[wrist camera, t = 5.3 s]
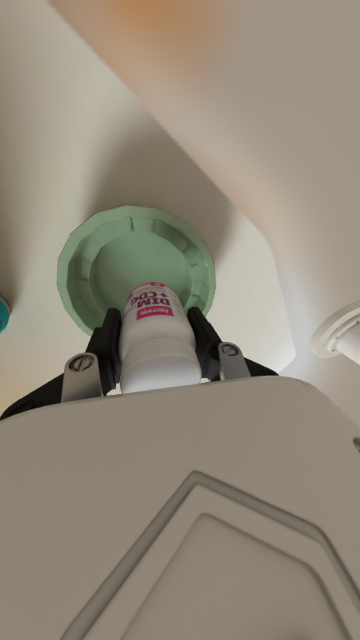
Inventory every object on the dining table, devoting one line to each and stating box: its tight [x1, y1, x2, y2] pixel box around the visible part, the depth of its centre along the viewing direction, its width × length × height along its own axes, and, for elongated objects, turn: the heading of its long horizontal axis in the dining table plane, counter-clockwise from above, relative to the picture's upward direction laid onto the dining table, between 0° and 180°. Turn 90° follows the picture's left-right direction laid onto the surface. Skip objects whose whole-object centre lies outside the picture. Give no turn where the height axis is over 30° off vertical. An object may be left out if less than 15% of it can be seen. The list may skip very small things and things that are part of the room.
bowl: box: [57, 205, 216, 336], centre depth 17 cm, size 14×14×5 cm
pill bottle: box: [118, 281, 202, 394], centre depth 11 cm, size 5×5×8 cm
